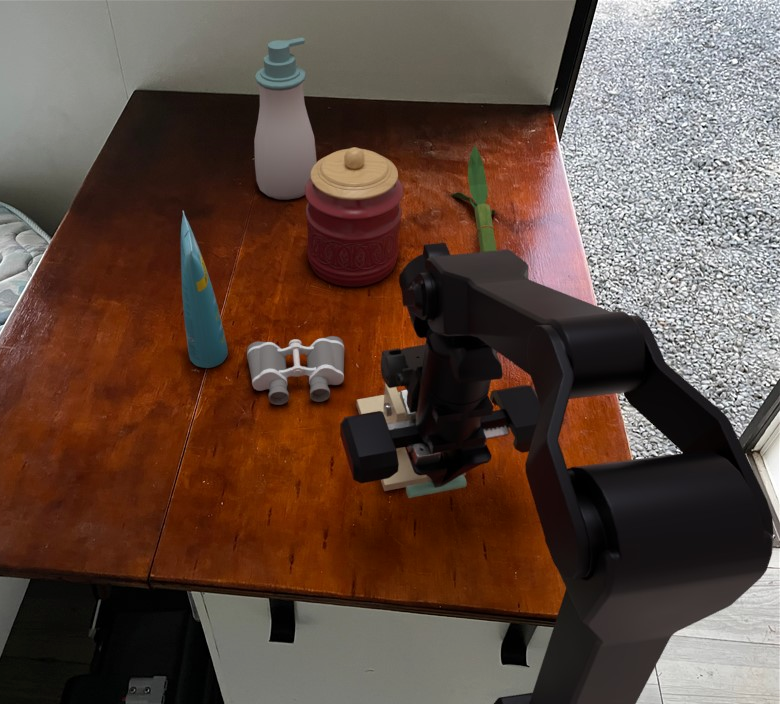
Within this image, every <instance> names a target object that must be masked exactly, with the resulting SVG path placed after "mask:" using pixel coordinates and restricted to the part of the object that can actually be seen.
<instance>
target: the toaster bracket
mask: <svg viewBox="0 0 780 704" xmlns="http://www.w3.org/2000/svg"><path fill="white" fill-rule="evenodd" d="M384 384H385V385H384V394H381V395H374V396H369V397H365V398H364V397H363V398H359V399H356V409H357V413H358V415H359V414H365V413H370V412H376V411H382V412H383V414H384V417H385V419H386V422H387V424H388V423H394V422H399V421H405V417H406V411H405V409H404V406H403V403H402V401H401V398H400V396H399V395H400V392H401V391H399V390H398V387H394V388H389V387H388V386H387V385H386V383H385V382H384ZM396 450H397V457H398V463H399V467H398V472H397V473H395V474H394V475H393V476H391V477H390V478H388V479H382V480H380V482H381V486H382V488H383V491H384V492H387V491H393V490H398V489H403V488H406V486H410V485H415V484H420V483H425V482H428V479H427V476H426V475H417V474H416V473H415V472H414V470H413V468H412V465H411V462H410V459H409V457H408V454H407V451H406V449H405V447H403V448H397V449H396ZM462 475H464V477H465V476H466V475H467V472H466V473H464V474H462ZM460 476H461V475H460Z"/></svg>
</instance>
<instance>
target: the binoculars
mask: <svg viewBox="0 0 780 704" xmlns="http://www.w3.org/2000/svg"><path fill="white" fill-rule="evenodd" d="M345 352H346V351H345V345H344V340H343V339H342V338H341V337H339V336H336V335H330V336H326V337H320V338H318V339H316V340H314V341H313V343H311V345H309V346H304V345H303V344H302V341H301V340H300V339H298V338H295V339H290V341H289V342H288V346H287V347H284V348H281V347H280V346H278V344H276V343H274V342H272V341H267V342H265V341H254V342H252V343H250V344H249V345H248V346H247V347H246V358H247V359H246V360H247V363H248V368H249V372H250V377H251V385H252V387H253V389H254V390H256V391H258V392H259V391H260V392H261V391H266V390H269V392H268V401H269V403H271V404H272V405H274V406H275V405H276V406H282V405H284V404H287V403H288V402H289V400H290V393H289V391H288V386H289V385H288V383H289V382H288V378H290V377H294V378H295V377H297V378H298V377H303V376H307V377H308V384H309V387H310V389H309V398H310V399H311V400H312V401H314V402H317V403H320V402H325V401H327V400H329V398H330V397H331V390H330V389H331V388H330V387H329V385H330V386H331V385H332V386H338V385H341V384H342V383H344V380H345V375H344V373H345V372H344V371H345V369H344V368H345ZM300 355H305V356H306V365H307V366H303V365H301V359H300ZM287 356H292V358H293V359H292V360H293V366H292V367H288V368H287Z"/></svg>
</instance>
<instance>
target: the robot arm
mask: <svg viewBox="0 0 780 704" xmlns="http://www.w3.org/2000/svg"><path fill="white" fill-rule="evenodd" d="M496 250H497V251H487V252H480V251H478V252H477V251H476V252H467V253H457V254H456V253H455V254H451V252H450V250H449V247H448V245H447V243H446V242H437V243H427V244H423V248H422V254H419V255H418V256H416V257H414V258H412V259H411V260H410V261H409V262H407V264H406V265H405V266H404V267H403V269H402V270H401V272H400V273H399V275H398V284H399V288H400V290H401V297H402V298H401V299H402V306H403V307H406V309H407V312H408V315H409V318H410V321H411V324H412V328H413V330H414V333H415V334H416V336H417V337H418V338H419V339H425V344H419V345H415V346H409V347H404V348H400V347H399V348H398V347H397V348H393V349H387V350H382V351H381V357H380V373H381V378H382V380H383V381H384V384H385V383H386V385H387V386H388V387H389V388H394V387H396V388H398V387H404V388H405V390H407V391H408V393H407V402H406V403H407V406H408V409H409V411H410V413H413V412H416V419H410V420H405V421H399V422H394V423H388V424H387V422H386V419H385V417H384V414H383V412H382V411H376V412H370V413H365V414H359V413H358V414H353V415H348V416H344V418H343V419H342V421H341V422H340V424H339V435H340V440H341V442H342V446H343V449H344V454H345V456H346V460H347V463H348V466H349V470H350V473H351V476H352V477H351V478H352V480H353V481H355V482H357V483H359V484H365V483H372V482H377V481H381V480H382V479H388V478H390V477H391V476H393V475H394V474H395V473H397V472H398V467H399V463H398V457H397V450H396V449H397V448H403V447H405V449H406V451H407V454H408V457H409V459H410V462H411V465H412V468H413V470H414V472H415V473H416V474H417V475H427V476H428V477H430V478H431V479H432V482H433V485H434V487H435V488H436V487H442V486H444V485H445V484H447V483H449V482H450V481H452V480H454V479H455V478H457V477H459V476H460V475H462V474H464V473H466V474H467V473H468V472H470V471H471V470H473V469H475V468H478V467H479V466H481V465H484V464H487V463H489V462H491V460H492V453H491V451H490V448H489V447H488V444H487V442H488V441H487V440H491V439H498V438H502V437H507V436H509V435H510V432H511V433H512V436H513V438H514V439H513V442H512V445H513V448H514V450H516V451H518V452H520V453H528V454H527V457H526V461H525V463H524V466H525V469H524V470H525V476H526V478H527V482H528V485H529V489H530V492H531V495H532V499H533V502H534V505H535V509H536V512H537V515H538V520H539V522H540V526H541V529H542V532H543V536H544V543H545V545H546V547H547V550H548V552H549V555H550V557H551V560H552V563H553V565H554V566H555V568H556V569H557V571H558V573H559V575H560V578H561V579H562V582H563V584H564V586H565V591H564V594H563V597H562V601H561V603H560V606H559V609H558V612H557V616H556V619H555V621H554V626H553V628H552V632H551V635H550V637H549V640H548V644H547V647H546V650H545V653H544V656H543V659H542V663H541V665H540V668H539V672H538V675H537V678H536V681H535V683H534V686H533V687H534V688H533V690H532V692H527V693H520V694H514V695H507V696H506V695H505V696H500V697H497V699H496V700H495V701H494V702H493V704H637V703H638V700H639V698H640V697H641V694H642V693H643V691H644V689H645V687H646V685H647V684H648V681H649V679H650V677H651V676H652V674H653V672H654V670H655V668H656V666H657V664H658V662H659V661H660V659H661V657H662V654H663V653H664V651H665V649H666V647H667V645H668V644H669V641H670V639H671V638H672V636H674V635H675V634H676V633H677V632H679V631H681V630H683V629H685V628H688V627H689V626H691V625H693V624H696V623H698V622H700V621H702V620H704V619H706V618H708V617H711V616H713V615H714V614H716V613H718V612H720V611H723V610H725V609H727V608H729V607H730V606H732V605H734V603H736V601H738V600H739V599H741V597H742V596H743V595H744V594H745V593H747V591H749V589H751V588H752V587H753V586H754V585H755V584H756V583H757V582H759V581H760V579H761V578H762V577H763V576H764V575H765V573H766V572H767V570H768V567H769V564H770V562H771V558H772V556H773V549H774V521H773V519H774V518H773V515H772V511H771V508H770V506H769V502H768V499H767V497H766V495H765V493H764V491H763V489H762V487H761V485H760V482H759V481H758V478H757V476H756V473H755V471H754V469H753V467H752V464H751V463H750V461H749V458H748V457H747V454H746V453H745V451H744V448H743V446H742V444H741V441H740V439H739V436H738V435H737V433H736V431H735V429H734V427H733V424H732V422H731V420H730V419H729V418H728V417H727V415H726V414H725V413H724V412H723V411H722V410H721V409H720V408H718V407H717V406H716V405H715V404H714V403H713V402H711V401H710V400H709V399H708V398H707V397H705V396H704V394H702V393H701V392H700V391H699V390H698V389H697V388H695V387H694V386H693V385H692V384H690V382H689V381H687V380H686V379H685V378H684V377H683V376H681V375H680V374H679V373H678V372H677V371H676V370H675V369H673V368H672V367H671V366H670V365H669V364H667V362H666V361H665V358H664V356H663V353H662V351H661V349H660V346H659V344H658V342H657V341H656V340H657V339H656V337H655V335H654V333H653V331H652V328H651V327H650V325H649V324H648V323H647V321H646V320H645V319H644V318H642V317H641V316H639V315H633V314H628V313H627V312H625V311H621V310H618V311H610V310H607V309H605V308H602V307H600V306H597V305H595V304H592V303H590V302H587V301H585V300H582V299H580V298H578V297H574V296H573V295H569V294H567V293H564V292H562V291H560V290H557V289H554V288H552V287H549V286H546V285H544V284H541V283H539V282H536V281H534V280H531V279H529V264H528V263H527V262H526V261H525V260H524V259H522V258H521V257H519V256H518V255H517V254H516V253H515V252H513V251H512V250H511V249H509V248H508V249H496ZM498 354H500V355H501V356H502V357H504V358H505V359H507V360H508V361H509V362H511V363H512V364H514V365H515V366H516V367H518V368H519V369H520V370H522V371H523V372H525V373H526V374H527V375H529V376H530V379H531V382H532V385H533V386H532V385H529V384H522V385H516V386H511V387H505V388H499V389H494V390H493V389H492V390H491V391H490V387H491V383H492V381H495V380H501V379H503V377H504V373H503V366H502V363H501V360H500V358H499V356H498ZM489 391H490V395H489ZM617 394H623V396H624V398H625V399H626V401H627V402H628V403H629V405H630V406H631V407H633V409H635V410H636V411H637V412H638V413H639V414H640V415H641V416H642V417H644V418H645V419H646V420H647V421H648V422H649V423H650V424H651V425H652V426H653V427H655V429H657V430H658V431H659V432H660V433H661V434H662V435H663V436H664V437H665V438H666V439H668V441H669V442H671V443H672V444H673V445H674V446H675V447H676V448H678V449H679V450H680V451H681V453H675V454H667V455H659V456H650V457H641V458H634V459H628V460H627V459H626V460H618V461H617V460H616V461H610V462H602V463H594V464H587V465H577V466H572V467H567V463H566V461H565V458H564V455H563V451H562V448H561V444H560V443H559V438H560V434H561V430H562V426H563V422H564V419H565V414H566V412H567V407H568V403H569V400H573V399H582V398H591V397H598V396H599V397H600V396H607V395H617ZM494 405H495V406H497V407H498V408H499V409H497V410H494V409H495V408H494Z"/></svg>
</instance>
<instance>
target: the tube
mask: <svg viewBox="0 0 780 704" xmlns="http://www.w3.org/2000/svg"><path fill="white" fill-rule="evenodd" d="M204 260H205V259H204V258H203V255H202V252H201V250H200V247H199V245H198V241H197V240H196V238H195V235H194V232H193V230H192V228H191V225H190V223H189V221H188V219H187V217H186V214H185V211H184V210H182V219H181V226H180V273H181V274H180V275H181V295H182V308H183V319H184V328H185V335H186V343H187V350H188V357H189V360H190V362H191V363H192V364H193V365H194V366H196V367H199V368H202V369H212V368H215V367H217V366H220V365H221V364H223V363H224V362H225V360H226V359H227V357H228V355H229V350H228V344H227V341H226V340H227V339H226V336H225V330H224V327H223V323H222V318H221V314H220V310H219V305H218V303H217V299H216V294H215V292H214V289H213V285H212V281H211V279H210V276H209V273H208V269H207V267H206V263H205V261H204Z"/></svg>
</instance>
